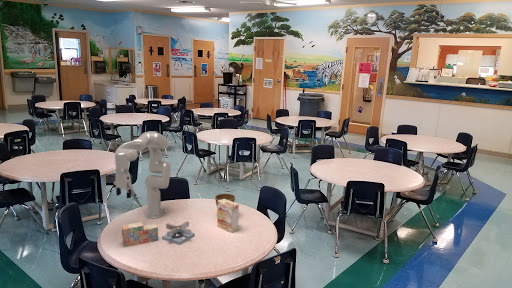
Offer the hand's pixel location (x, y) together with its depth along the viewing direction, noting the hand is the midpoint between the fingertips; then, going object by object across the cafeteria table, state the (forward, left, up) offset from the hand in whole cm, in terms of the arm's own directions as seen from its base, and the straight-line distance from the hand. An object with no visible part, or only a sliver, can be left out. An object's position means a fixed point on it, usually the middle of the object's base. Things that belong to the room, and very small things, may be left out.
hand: (123, 196), depth 237 cm
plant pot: (-63, +36, -29) cm, 78 cm away
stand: (-18, +29, -29) cm, 45 cm away
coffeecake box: (-47, +49, -29) cm, 74 cm away
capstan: (-18, +29, -26) cm, 43 cm away
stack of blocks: (-1, +12, -29) cm, 32 cm away
